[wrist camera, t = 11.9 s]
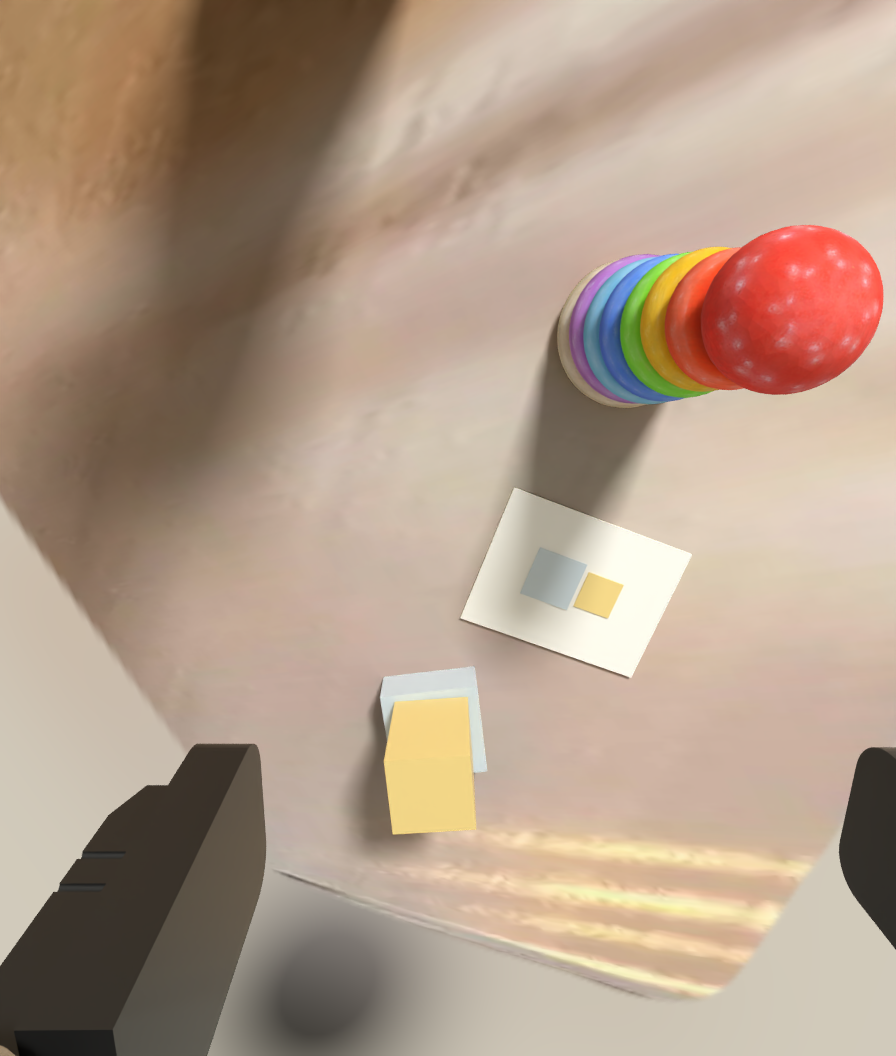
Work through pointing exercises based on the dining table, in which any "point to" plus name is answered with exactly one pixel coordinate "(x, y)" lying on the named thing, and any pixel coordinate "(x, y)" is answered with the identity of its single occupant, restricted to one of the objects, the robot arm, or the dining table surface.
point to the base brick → (438, 687)
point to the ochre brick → (430, 766)
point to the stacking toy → (722, 319)
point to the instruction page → (574, 583)
